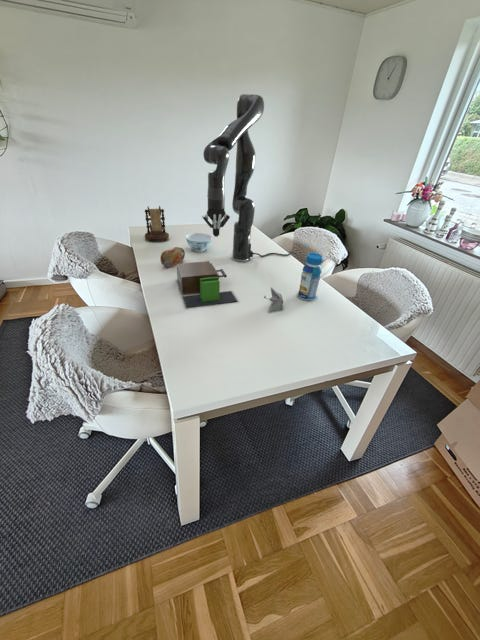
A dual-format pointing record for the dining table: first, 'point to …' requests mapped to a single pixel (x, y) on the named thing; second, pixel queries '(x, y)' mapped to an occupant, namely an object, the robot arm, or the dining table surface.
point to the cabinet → (193, 275)
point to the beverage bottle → (310, 277)
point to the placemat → (196, 301)
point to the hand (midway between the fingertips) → (216, 236)
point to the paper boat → (276, 300)
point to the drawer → (218, 271)
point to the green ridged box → (209, 289)
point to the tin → (172, 256)
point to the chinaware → (198, 241)
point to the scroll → (155, 225)
